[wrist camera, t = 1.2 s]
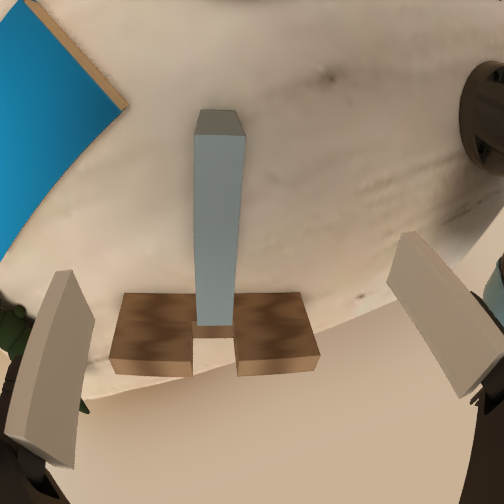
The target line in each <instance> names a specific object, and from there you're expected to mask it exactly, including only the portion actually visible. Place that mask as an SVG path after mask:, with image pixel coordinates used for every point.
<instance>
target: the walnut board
mask: <svg viewBox="0 0 504 504" xmlns="http://www.w3.org/2000/svg"><path fill="white" fill-rule="evenodd" d="M193 338H234V348H235V358H236V367H237V376H256V375H272V374H285V373H295V372H306V371H314V369H315V367H316V365H317V362H318V360H319V358H320V352H319V349H318V346H317V343H316V340H315V337H314V334H313V331H312V328H311V325H310V322H309V319H308V316H307V313H306V310H305V307H304V304H303V301H302V298H301V295H300V292H299V293H260V294H234V303H233V319H232V325H223V326H197V308H196V294H142V293H125V294H124V297H123V301H122V305H121V309H120V312H119V316H118V320H117V324H116V329H115V333H114V337H113V341H112V346H111V350H110V355H109V360H110V362H111V365H112V367H113V369H114V371H115V373H116V374H122V375H137V376H158V377H193Z"/></svg>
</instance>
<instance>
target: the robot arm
mask: <svg viewBox="0 0 504 504" xmlns="http://www.w3.org/2000/svg"><path fill="white" fill-rule="evenodd" d="M460 131H461V137H462V141H463V144H464V147H465V150H466V152H467V154H468V156H469V157H470V159H471V160H472V161H473V162H474V163H475V164H476V165H477V166H479V167H481V168H482V169H484V170H485V171H487V172H489V173H491V174H493V175H497V176H502V177H504V63H500V62H495V61H489V62H485V63H483V64H481V65H480V66H478V67H477V68H476V69H475V70H474V71H473V73H472V74H471V76H470V77H469V79H468V81H467V83H466V85H465V88H464V91H463V95H462V99H461V105H460ZM386 283H387V284H388V286H389V287H390V288H391V290H392V291H393V293H394V294H395V296H396V297H397V299H398V300H399V301H400V303H401V305H402V306H403V307H404V309H405V311H406V312H407V314H408V315H409V317H410V318H411V320H412V321H413V323H414V324H415V326H416V327H417V329H418V330H419V332H420V334H421V335H422V337H423V338H424V340H425V342H426V343H427V345H428V346H429V348H430V349H431V351H432V353H433V355H434V356H435V358H436V360H437V361H438V363H439V364H440V366H441V368H442V370H443V371H444V373H445V375H446V377H447V378H448V380H449V382H450V383H451V385H452V387H453V389H454V391H455V392H456V394H457V396H458V398H459V399H460V398H462V397H464V396H466V395H467V394H469V393H471V392H473V391H474V390H475V388H476V387H477V386H478V385H479V384H480V383H481V384H482V385H483V388H482V389H481V390H480V391H479V392H478V393H477V394H476V395H475V396H474V397H473V398H472V399H471V401H470V404H473V403H474V402H475V401H476V400H477V399H478V398H479V400H478V401H477V402H476V404H475V406H478V413H477V421H476V428H475V435H474V441H473V446H472V451H471V457H470V462H469V466H468V470H467V475H466V479H465V483H464V487H463V490H462V494H461V497H460V501H459V504H504V254H503V255H502V257H501V258H500V259H499V260H498V262H497V264H496V268H495V270H494V272H493V273H492V275H491V277H490V279H489V280H488V282H487V284H486V286H485V289H484V293H483V300H482V299H481V298H480V297H479V296H477V295H476V294H475V293H473V292H472V291H469V290H468V289H467V288H466V287H465V285H464V284H463V283H462V282H461V281H460V279H459V278H458V277H457V276H456V275H455V274H454V273H453V271H452V270H451V269H450V268H449V267H448V266H447V265H446V264H445V262H444V261H443V260H442V259H441V258H440V257H439V256H438V255H437V254H436V253H435V252H434V250H433V249H432V248H431V247H430V246H429V245H428V244H427V243H426V242H425V241H424V240H423V239H422V238H421V237H420V236H419V235H418V234H417V233H416V232H415V231H414V232H404V233H401V237H400V240H399V244H398V247H397V251H396V254H395V257H394V260H393V264H392V267H391V270H390V273H389V276H388V279H387V282H386ZM94 323H95V318H94V316H93V314H92V312H91V310H90V308H89V306H88V304H87V302H86V300H85V298H84V296H83V293H82V291H81V289H80V287H79V285H78V282H77V280H76V278H75V275H74V273H73V271H72V270H65V271H56V272H55V274H54V277H53V279H52V281H51V283H50V286H49V288H48V290H47V293H46V295H45V297H44V300H43V302H42V305H41V307H40V310H39V312H38V315H37V317H36V320H35V323H34V325H33V328H32V331H31V334H30V337H29V340H28V342H27V345H26V348H25V352H24V355H16V356H15V358H14V359H13V361H12V362H11V364H10V365H9V367H8V371H7V374H6V377H5V382H4V384H3V388H2V393H1V395H0V504H70V503H69V501H68V500H67V498H66V497H65V495H64V494H63V492H62V491H61V490H60V488H59V486H58V485H57V484H56V482H55V480H54V479H53V477H52V475H51V474H50V472H49V471H48V470H47V469H46V468H45V463H46V462H48V463H50V464H51V465H53V466H55V467H60V468H67V469H73V470H74V460H75V459H74V458H75V445H76V433H77V424H78V415H79V407H80V399H81V392H82V386H83V379H84V373H85V367H86V362H87V357H88V351H89V346H90V341H91V337H92V332H93V328H94Z"/></svg>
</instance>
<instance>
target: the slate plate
mask: <svg viewBox="0 0 504 504" xmlns="http://www.w3.org/2000/svg"><path fill="white" fill-rule="evenodd" d="M245 142H246V135H245V133H244V130H243V128H242V126H241V124H240V121H239V119H238V117H237V114H236V112H235V111H232V110H201V111H200V115H199V119H198V123H197V127H196V131H195V136H194V257H195V286H196V308H197V326H223V325H232V319H233V303H234V288H235V273H236V259H237V245H238V231H239V217H240V204H241V191H242V179H243V166H244V154H245Z"/></svg>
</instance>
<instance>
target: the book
mask: <svg viewBox="0 0 504 504" xmlns="http://www.w3.org/2000/svg"><path fill="white" fill-rule="evenodd" d="M128 105H129V104H128V103H127V102H126V100H125V99H124V98H123V97H122V96H121V95H120V94H119V93H118V91H117V90H116V89H115V88H114V87H113V86H112V85H111V84H110V82H109V81H108V80H107V79H106V78H105V77H104V76H103V75H102V73H101V72H100V71H99V70H98V69H97V68H96V67H95V66H94V65H93V63H92V62H91V61H90V60H89V59H88V58H87V57H86V56H85V54H84V53H83V52H82V51H81V50H80V49H79V48H78V47H77V46H76V44H75V43H74V42H73V41H72V40H71V39H70V38H69V37H68V35H67V34H66V33H65V32H64V31H63V30H62V29H61V28H60V27H59V25H58V24H57V23H56V22H55V21H54V20H53V19H52V18H51V17H50V16H49V14H48V13H47V12H46V11H45V10H44V9H43V8H42V7H41V6H40V4H39V3H37V1H35V0H18V1H17V2H16V3H15V5H14V6H13V7H12V8H11V10H10V11H9V12H8V13H7V15H6V16H5V17H4V18H3V20H2V21H1V22H0V262H1V260H2V258H3V257H4V255H5V254H6V252H7V250H8V249H9V247H10V246H11V244H12V242H13V241H14V239H15V238H16V236H17V235H18V233H19V232H20V230H21V229H22V227H23V226H24V225H25V223H26V222H27V220H28V219H29V217H30V216H31V215H32V213H33V212H34V210H35V209H36V208H37V206H38V205H39V204H40V202H41V201H42V200H43V198H44V197H45V196H46V195H47V193H48V192H49V191H50V190H51V188H52V187H53V186H54V185H55V183H56V182H57V181H58V180H59V178H60V177H61V176H62V175H63V174H64V172H65V171H66V170H67V169H68V168H69V167H70V165H71V164H72V163H73V162H74V161H75V160H76V159H77V158H78V156H79V155H80V154H81V153H82V152H83V151H84V150H85V149H86V148H87V147H88V146H89V144H90V143H91V142H92V141H93V140H94V139H95V138H96V137H97V136H98V135H99V134H100V133H101V132H102V131H103V130H104V129H105V128H106V127H107V126H108V125H109V124H110V123H111V122H112V121H113V120H114V119H115V118H116V117H117V116H118V115H119V114H120V113H122V110H123V109H124V108H125V107H126V106H128Z"/></svg>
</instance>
